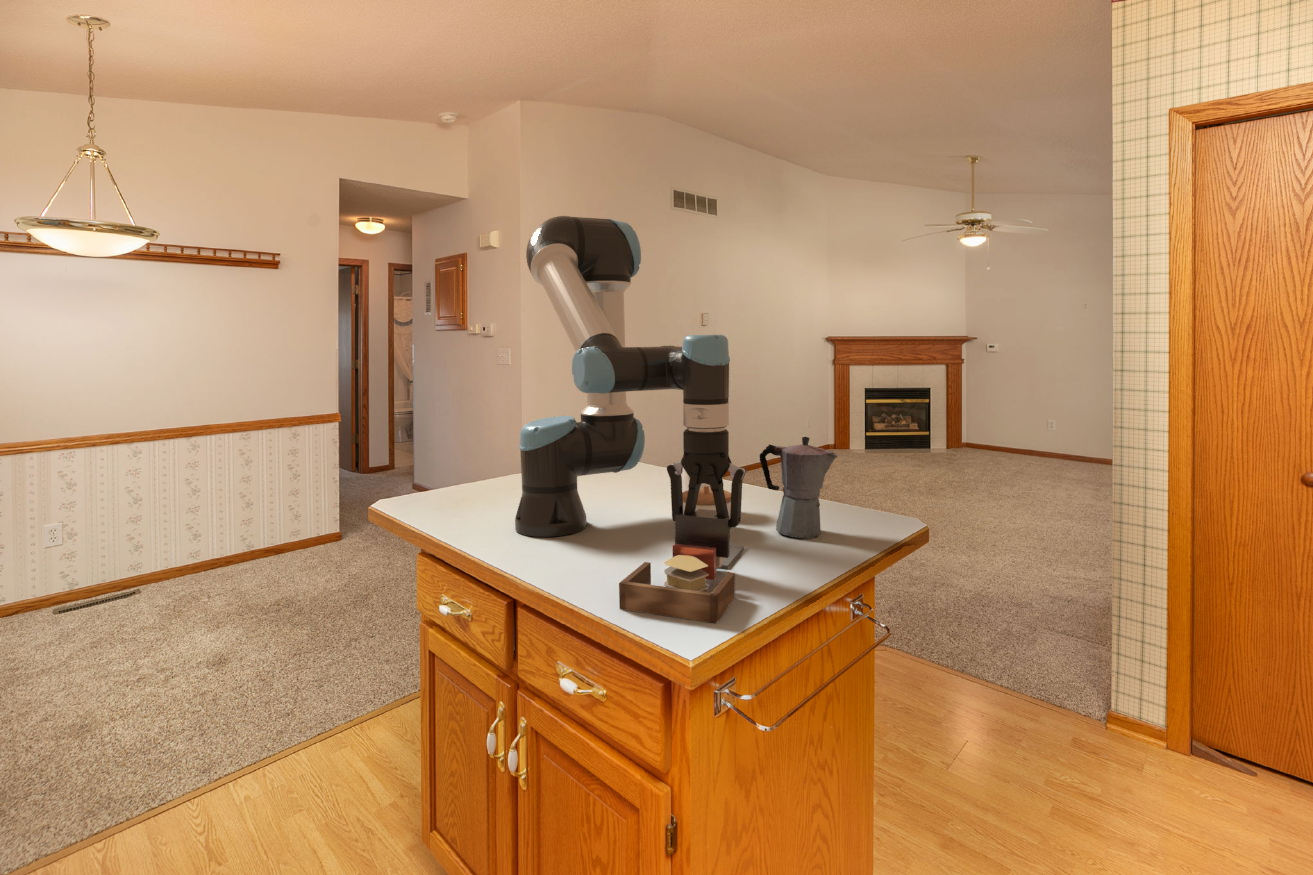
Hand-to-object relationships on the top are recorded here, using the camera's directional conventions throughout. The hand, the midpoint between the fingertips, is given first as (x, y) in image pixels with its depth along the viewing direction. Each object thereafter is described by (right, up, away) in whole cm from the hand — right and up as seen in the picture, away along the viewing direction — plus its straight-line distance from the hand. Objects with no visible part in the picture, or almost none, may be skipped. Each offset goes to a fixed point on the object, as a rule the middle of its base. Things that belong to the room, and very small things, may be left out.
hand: (706, 563), depth 114 cm
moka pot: (+20, +2, +22) cm, 30 cm away
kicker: (-1, 0, -2) cm, 2 cm away
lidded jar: (+2, +2, +25) cm, 25 cm away
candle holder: (+2, +4, +39) cm, 39 cm away
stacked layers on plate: (-4, -4, -10) cm, 11 cm away
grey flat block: (+3, 0, +8) cm, 9 cm away
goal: (-5, -4, -13) cm, 14 cm away
